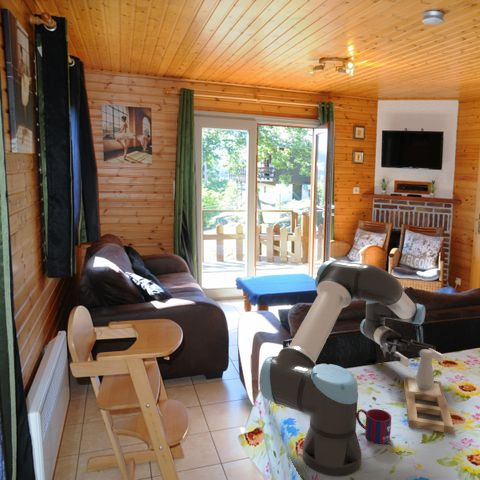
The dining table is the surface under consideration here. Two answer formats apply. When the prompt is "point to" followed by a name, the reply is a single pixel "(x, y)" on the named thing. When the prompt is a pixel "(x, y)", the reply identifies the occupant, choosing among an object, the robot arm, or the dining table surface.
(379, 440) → the mug
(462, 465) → the dining table surface
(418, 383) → the salt shaker
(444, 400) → the wooden slotted tray
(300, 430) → the dining table surface
